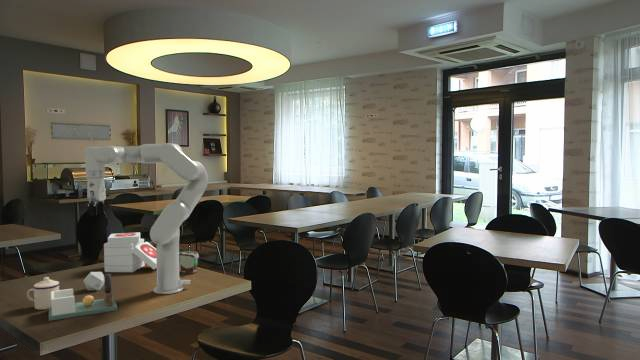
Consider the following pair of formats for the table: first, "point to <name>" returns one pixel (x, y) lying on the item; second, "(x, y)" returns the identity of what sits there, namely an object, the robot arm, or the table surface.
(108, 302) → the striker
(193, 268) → the food container
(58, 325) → the table surface
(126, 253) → the pizza boxes
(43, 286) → the teacup with lid
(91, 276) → the die
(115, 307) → the game board
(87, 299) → the ball
